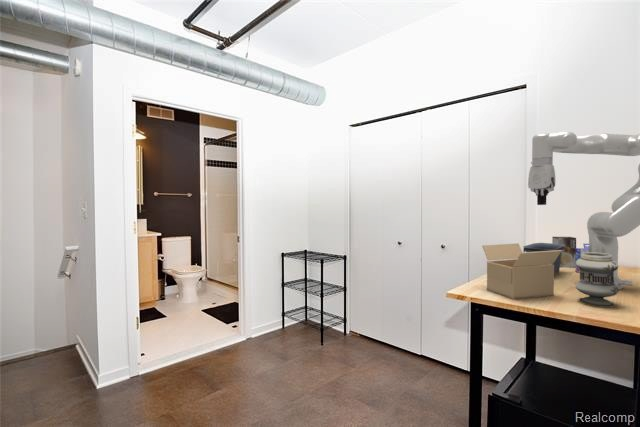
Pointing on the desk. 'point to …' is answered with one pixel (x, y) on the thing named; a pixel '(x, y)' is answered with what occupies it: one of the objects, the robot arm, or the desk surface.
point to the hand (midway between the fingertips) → (541, 204)
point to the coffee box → (567, 250)
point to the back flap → (502, 251)
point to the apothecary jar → (597, 278)
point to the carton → (520, 279)
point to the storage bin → (546, 247)
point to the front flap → (537, 258)
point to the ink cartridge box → (579, 253)
